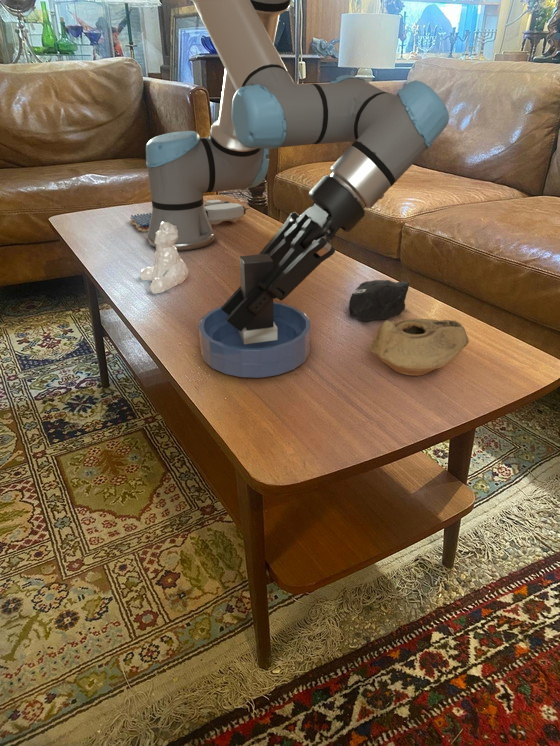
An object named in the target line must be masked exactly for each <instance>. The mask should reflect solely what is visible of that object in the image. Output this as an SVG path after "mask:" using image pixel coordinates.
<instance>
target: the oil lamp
mask: <svg viewBox="0 0 560 746" xmlns="http://www.w3.org/2000/svg"><path fill="white" fill-rule="evenodd" d="M469 343H470V340H469V337H468V334H467V332H466V329H465V327H464V326H463V325H462V323H460V322H459V321H457V320H452V319H442V320H439V319H431V318H429V319H427V318H408V319H407V318H405V319H399V320H395V321H391V320H385V321H383V322H382V323H381V325H380V326H379V328H378V330H377V333H376V334H375V335H374V336H373V338H372V340H371V343H370V344H368V349H369V350H370V351H371V352H372V353H373V354H374V355H375V356H376V357H377V359H379V360H380V361H381V362H382V363H383V364H385V365H387V366H388V367H390V368H391V369H392V370H393V371H395V372H396V373H399V374H401V375H406V376H424V375H426V374H428V373H431V372H432V371H434V370H438V369H440V368H442V367H444V366H446V365H447V364H449V363H450V362H451V361H453V360H454V359H455V358H456V357H457V356H458V355H459V354H460V353H461V352H462V351H463V350H464V349H465V347H467V345H468V344H469Z"/></svg>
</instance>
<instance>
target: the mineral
mask: <svg viewBox="0 0 560 746" xmlns="http://www.w3.org/2000/svg"><path fill="white" fill-rule="evenodd" d="M409 287H410V282H409V281H405V280H404V281H401V280H400V281H397V282H395V281H392V280H389V279H375V280H369V281H364V282H361V283H360V284H359V286H358V287H356V288H355V289H354V291H353V292H352V294H351V296H350V299H349V303H348V312H349V316H350V317H356V318H358V319H360V320H361V321H363V322H371V321H381V320H383V321H384V320H385V321H386V320H389V319H390V318H393V317H395V316H398V315H401V314H402V313H403V312H404V311H405V309H406V303H405V301H406V298H407V294H408V291H409Z"/></svg>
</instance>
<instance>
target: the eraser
mask: <svg viewBox="0 0 560 746" xmlns="http://www.w3.org/2000/svg"><path fill="white" fill-rule="evenodd" d="M272 271H273V260H272V259H271V257H270V256H269V255H268V254H259V253H258V254H248V255H240V256H239V276H240V279H239V280H240V286H241V302H242V300H243V299H244V298H245V297H246V296H247V295H248V294H249V293H250V292H251V291H252V290H253V289H254V288H255V286H256V285H257V282H258V280H259V281H260V282H261V283H262V284H263V282H264V281H265V280H266V279H267V277H268V276H269V275H270V274H271V272H272ZM273 302H274V299H273V298H272V299H271V300H270V301H269V302H268V303H267V304H266V305H265V306H264V307H263V308H262V310H261V311H260V312H259V313H258V314H257V315H256V316H255V317H254V318H253V319H252V320H251V321H250V322H249V323H248V325H247V326H246V327H245V328H244V329H243V330H242V331H239V335H240V337H241V339H242V341H243V343H244V344H251V343H258V342H266V341H273V340H277V326H276V325H275V323H274V321H273Z"/></svg>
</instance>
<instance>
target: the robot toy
mask: <svg viewBox="0 0 560 746" xmlns="http://www.w3.org/2000/svg"><path fill="white" fill-rule="evenodd" d="M203 204H204V209H205V211H206V214H207V216H208V219H209V221H210V224H211V225H219V224H220V225H221V223H222V222H226V221H228V222H230V223H236V222H238V221H239V219H242V218H243V217H244V216H245V214H246V212H247V210H250V209H251V206H249V207H245V206H244V205H243V204H241V203H237V202H230V201H229V200H225V201H222V200H221V199H209V200H206V201H204V202H203Z"/></svg>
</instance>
